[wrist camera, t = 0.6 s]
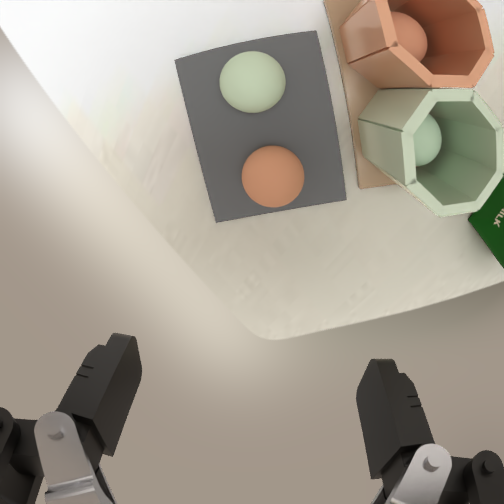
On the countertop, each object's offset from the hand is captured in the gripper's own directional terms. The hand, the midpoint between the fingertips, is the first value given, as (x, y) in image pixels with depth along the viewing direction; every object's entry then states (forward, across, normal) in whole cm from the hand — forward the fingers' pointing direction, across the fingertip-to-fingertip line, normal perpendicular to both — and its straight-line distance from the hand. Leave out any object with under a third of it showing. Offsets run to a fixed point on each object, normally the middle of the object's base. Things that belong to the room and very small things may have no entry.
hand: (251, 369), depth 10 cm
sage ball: (+18, -11, -7) cm, 22 cm away
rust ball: (+18, -8, -14) cm, 24 cm away
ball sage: (+18, +2, -9) cm, 20 cm away
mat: (+18, 0, -6) cm, 19 cm away
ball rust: (+18, 0, -3) cm, 18 cm away
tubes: (+18, -10, -11) cm, 23 cm away
